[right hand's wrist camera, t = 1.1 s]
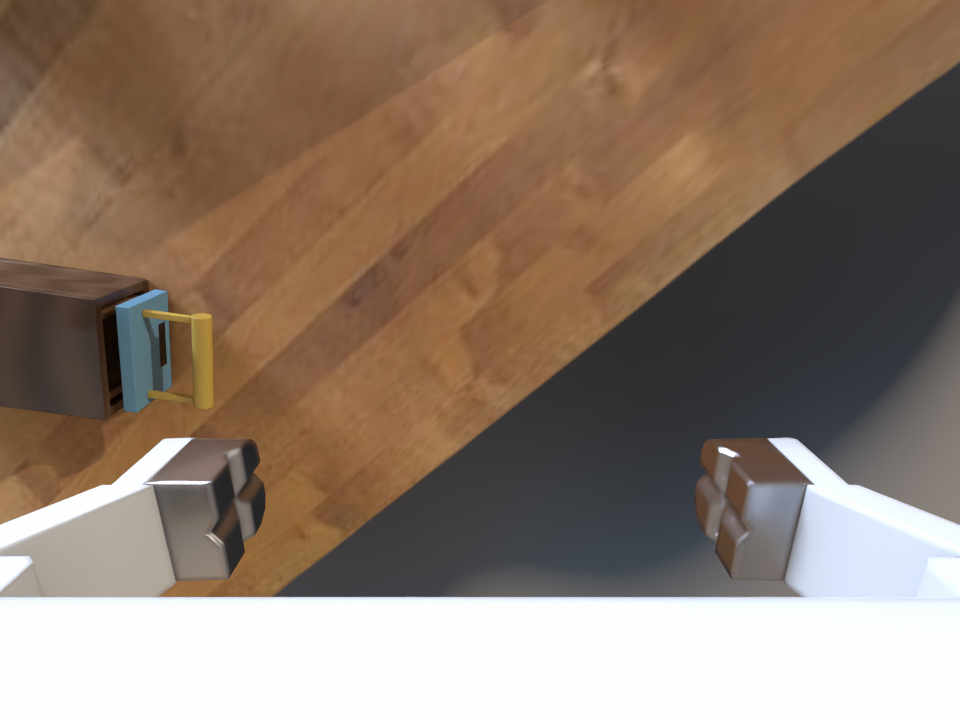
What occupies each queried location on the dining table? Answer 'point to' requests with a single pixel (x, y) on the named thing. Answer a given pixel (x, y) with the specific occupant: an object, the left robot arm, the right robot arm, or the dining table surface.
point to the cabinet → (57, 337)
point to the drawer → (153, 351)
